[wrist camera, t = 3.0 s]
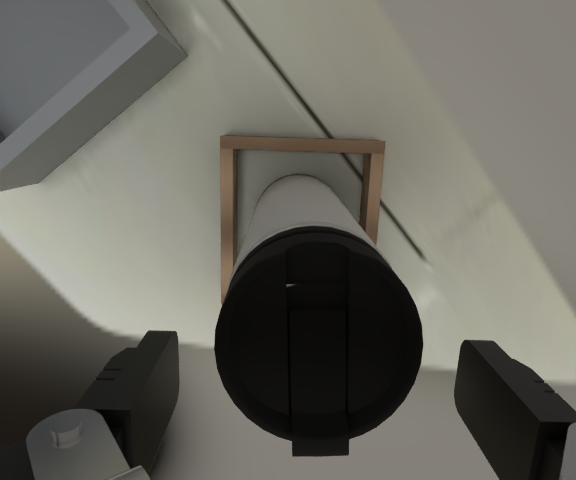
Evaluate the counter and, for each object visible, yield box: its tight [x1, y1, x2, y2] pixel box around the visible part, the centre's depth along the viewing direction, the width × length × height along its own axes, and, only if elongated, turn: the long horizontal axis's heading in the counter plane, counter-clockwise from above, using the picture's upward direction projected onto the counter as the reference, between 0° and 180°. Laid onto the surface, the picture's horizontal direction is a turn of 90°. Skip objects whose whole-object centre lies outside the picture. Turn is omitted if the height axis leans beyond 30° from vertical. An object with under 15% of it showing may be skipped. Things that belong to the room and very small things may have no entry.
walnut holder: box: [220, 135, 385, 304], centre depth 30 cm, size 12×11×2 cm
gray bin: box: [0, 0, 188, 191], centre depth 25 cm, size 14×14×7 cm
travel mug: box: [214, 174, 423, 456], centre depth 22 cm, size 6×7×20 cm
